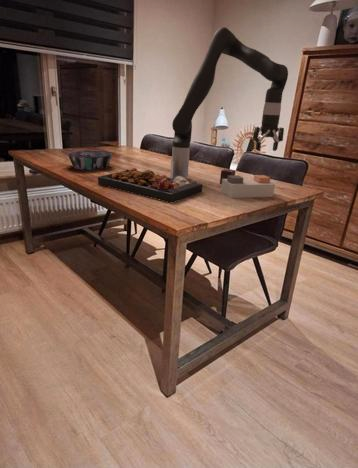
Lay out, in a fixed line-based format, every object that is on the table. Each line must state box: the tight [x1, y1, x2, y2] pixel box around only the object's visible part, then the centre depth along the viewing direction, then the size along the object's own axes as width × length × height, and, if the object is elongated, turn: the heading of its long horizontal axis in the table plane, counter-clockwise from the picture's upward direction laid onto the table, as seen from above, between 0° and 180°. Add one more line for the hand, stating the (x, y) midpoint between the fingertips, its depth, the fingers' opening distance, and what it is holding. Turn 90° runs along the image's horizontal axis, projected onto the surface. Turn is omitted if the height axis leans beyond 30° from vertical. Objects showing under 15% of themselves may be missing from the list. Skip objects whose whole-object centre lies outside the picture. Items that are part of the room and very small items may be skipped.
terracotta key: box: [253, 174, 271, 183], centre depth 157 cm, size 6×6×4 cm
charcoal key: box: [227, 174, 244, 184], centre depth 153 cm, size 6×6×4 cm
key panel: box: [220, 178, 276, 199], centre depth 157 cm, size 22×12×6 cm, turn 105°
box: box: [219, 168, 236, 185], centre depth 174 cm, size 6×6×7 cm
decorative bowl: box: [66, 149, 113, 171], centre depth 196 cm, size 26×28×10 cm
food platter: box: [97, 167, 203, 203], centre depth 157 cm, size 45×25×10 cm, turn 55°
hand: (266, 150), depth 152 cm, fingers open, 8 cm apart
